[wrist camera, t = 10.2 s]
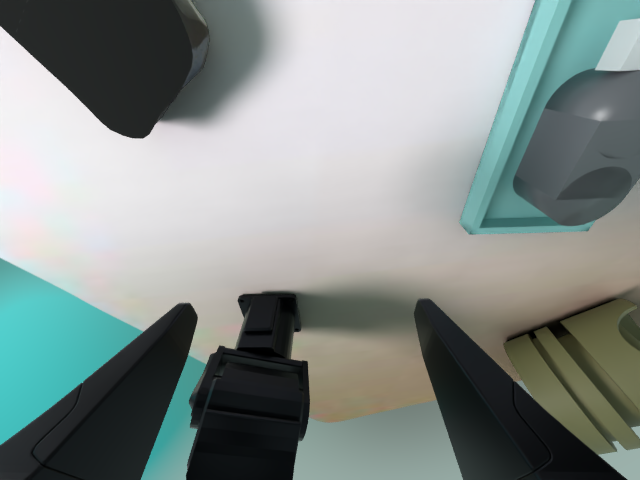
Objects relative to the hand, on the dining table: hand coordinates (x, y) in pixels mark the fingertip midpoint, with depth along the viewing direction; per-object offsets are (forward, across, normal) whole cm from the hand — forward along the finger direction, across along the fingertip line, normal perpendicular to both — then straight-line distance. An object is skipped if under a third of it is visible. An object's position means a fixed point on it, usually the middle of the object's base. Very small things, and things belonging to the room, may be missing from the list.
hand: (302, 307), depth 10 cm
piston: (+12, -29, +20) cm, 37 cm away
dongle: (+12, -17, -2) cm, 21 cm away
